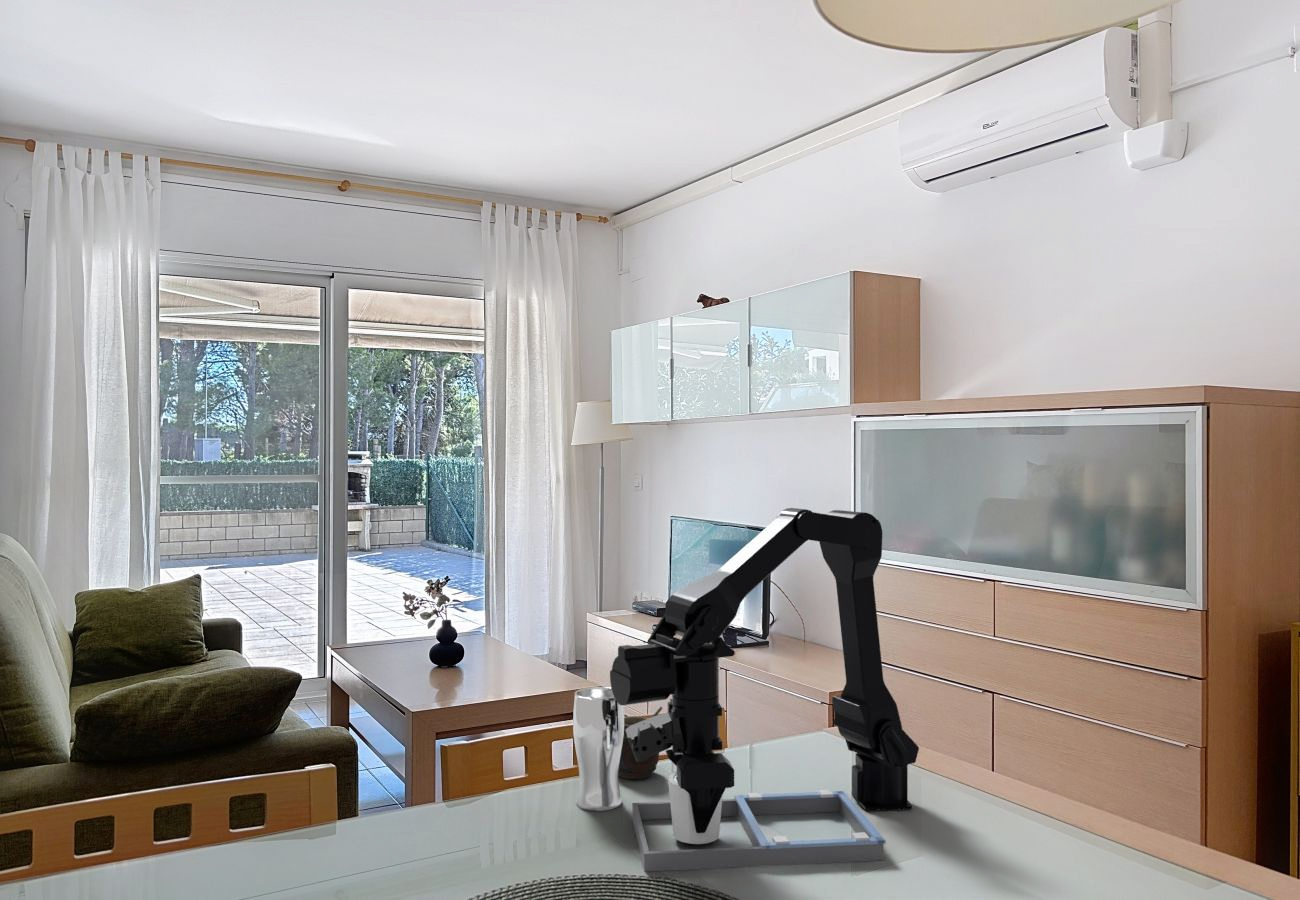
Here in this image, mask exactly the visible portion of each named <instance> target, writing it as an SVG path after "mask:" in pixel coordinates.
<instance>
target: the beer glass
mask: <svg viewBox="0 0 1300 900" xmlns="http://www.w3.org/2000/svg"><path fill="white" fill-rule="evenodd" d="M573 703H574V704H573V714H572V715H573V716H572V717H573V718H572V722H573V723H572V728H573V732H572V734H573V742H574V746H575V753H576V754H575V755H576V758H577V765H578V766H577V767H578V771H579V783H578V792H577V797H576V805H577V806H578V808H580V809H583V810H585V811H591V812H605V811H611V810H613V809H617V808H618V807H620V806H621V804H622V801H623V800H622V794H621V789H620V782H619V781H620V780H619V777H620V776H619V765H620V759H621V753H622V747H623V740H624V727H625V719H624V717H625V705H620V704H618V702H617V701H616V699H615V698H614V695H613V692H612V688H611V686H592V687H591V686H590V687H584V688H580V689H578V690H576V691H575V692H574V702H573Z"/></svg>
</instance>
